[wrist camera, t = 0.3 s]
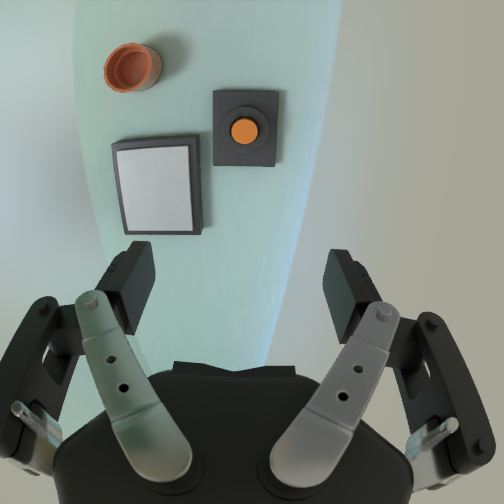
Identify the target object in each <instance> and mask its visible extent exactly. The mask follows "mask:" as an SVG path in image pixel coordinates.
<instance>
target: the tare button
mask: <svg viewBox="0 0 504 504" xmlns="http://www.w3.org/2000/svg"><path fill="white" fill-rule="evenodd" d="M231 132H232V137H233V138H234V140H235V141H236V142H238V143H240V144H249V143H251V142H253V141H254V140H255V139H256V137H257V134H258V130H257V126H256V124H255V123H254V122H253V121H252V120H251V119H248V118H242V119H239V120H237V121H236V122H235V123H234V125H233V127H232V131H231Z"/></svg>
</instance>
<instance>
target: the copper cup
mask: <svg viewBox="0 0 504 504" xmlns="http://www.w3.org/2000/svg"><path fill="white" fill-rule="evenodd" d="M161 70H162V61H161V59H160V56H159V54H158V53H157V52H156V51H154V50H153V49H151V48H149V47H146V46H143V45H141V44H136V43H129V44H124V45H122V46H120V47H118V48H117V49H115V50H114V51H113V52H112V53H111V54H110V56H109V57H108V58H107V61H106V63H105V66H104V78H105V81H106V83H107V85H108V86H109V87H110V88H111V89H113V90H114V91H117V92H121V93H127V92H138V91H143V90H146V89H147V88H149V87H151V86H152V85H153V84H154V83H155V82H156V81H157V80H158V78H159V75H160V73H161Z"/></svg>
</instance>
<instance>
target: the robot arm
mask: <svg viewBox="0 0 504 504" xmlns="http://www.w3.org/2000/svg"><path fill="white" fill-rule="evenodd" d="M154 282H155V266H154V259H153V253H152V246H151V243H150V242H149V241H133V242H132V244H131V245H130V247H129V248H128V250H127V251H122V252H121V253H120V254H118V255H117V256H116V257H115V258H114V259H113V261H112V262H111V264H110V266H109V267H108V269H107V271H106V272H105V273H104V275H103V277H102V278H101V280H100V281H99V283H98V285H97V286H96V288H95V289H94V290H91V291H87V292H85V293H83V294H82V295H81V296H79V297H78V298H77V300H76V301H75V304H71V305H64V306H59V304H58V302H57V300H56V299H55V298H54V297H51V296H46V297H42V298H40V299H38V300H37V301H35V302H34V303H33V304H32V306H31V307H30V309H29V310H28V312H27V314H26V315H25V317H24V319H23V320H22V322H21V324H20V326H19V327H18V329H17V331H16V333H15V334H14V336H13V338H12V340H11V342H10V344H9V346H8V348H7V349H6V351H5V353H4V356H3V357H2V360H1V362H0V457H1V458H2V459H4V460H5V461H7V462H8V463H10V464H12V465H13V466H15V467H17V468H19V469H22V470H24V471H25V472H28V473H29V474H31V475H34V476H39V475H43V476H45V477H47V478H50V479H52V480H54V482H55V486H56V489H57V494H58V499H59V504H408V503H409V500H410V497H411V494H412V493H414V492H417V491H420V490H423V489H428V490H437V489H439V488H441V487H443V486H446V485H448V484H450V483H452V482H454V481H456V480H458V479H460V478H462V477H464V476H466V475H467V474H469V473H471V472H473V471H475V470H477V469H478V468H480V467H482V466H484V465H485V464H487V463H488V462H490V461H491V459H492V458H493V456H494V454H495V449H496V443H495V438H494V435H493V433H492V429H491V426H490V423H489V420H488V417H487V414H486V412H485V409H484V406H483V404H482V401H481V398H480V396H479V394H478V391H477V388H476V386H475V384H474V382H473V379H472V377H471V374H470V372H469V370H468V368H467V365H466V363H465V361H464V359H463V357H462V355H461V353H460V351H459V349H458V347H457V345H456V343H455V341H454V339H453V337H452V335H451V333H450V331H449V329H448V328H447V325H446V323H445V322H444V320H443V319H442V318H441V317H440V316H438V315H436V314H435V313H432V312H423V313H421V314H420V315H419V317H418V319H417V320H412V319H407V318H403V317H400V314H399V312H398V311H397V309H396V308H395V307H394V306H392V305H391V304H389V303H386V302H383V301H382V299H381V297H380V295H379V293H378V291H377V289H376V287H375V285H374V284H373V283H372V280H371V278H370V277H369V274H368V273H367V271H366V269H365V267H364V266H362V265H361V264H360V263H359V262H358V261H353V259H352V257H351V255H350V254H349V252H348V250H339V249H331V250H330V252H329V255H328V259H327V264H326V268H325V272H324V276H323V291H324V294H325V297H326V300H327V303H328V307H329V310H330V313H331V317H332V320H333V323H334V327H335V330H336V333H337V337H338V340H339V343H340V344H345V346H344V348H343V349H342V351H341V353H340V354H339V356H338V358H337V359H336V361H335V363H334V364H333V366H332V367H331V369H330V370H329V372H328V374H327V375H326V377H325V378H324V380H323V381H322V383H321V384H320V383H318V382H316V381H314V380H313V379H310V378H308V377H305V376H301V375H297V374H296V372H295V366H262V367H257V368H252V369H247V370H242V371H229V370H225V369H221V368H217V367H214V366H210V365H207V364H203V363H191V362H180V361H174V364H173V369H172V370H166V371H162V372H159V373H156V374H153V375H151V376H149V377H146V375H145V373H144V371H143V370H142V368H141V366H140V364H139V362H138V360H137V358H136V356H135V354H134V352H133V350H132V349H131V347H130V344H129V342H128V340H127V338H126V336H125V334H126V335H135V332H136V329H137V326H138V324H139V321H140V318H141V316H142V313H143V310H144V308H145V305H146V302H147V300H148V297H149V295H150V292H151V290H152V287H153V285H154ZM47 346H48V347H49V350H48V352H47V355H46V357H45V359H44V362H43V364H42V358H43V354H44V352H45V350H46V348H47ZM80 355H86V358H87V361H88V364H89V367H90V370H91V373H92V376H93V379H94V381H95V384H96V387H97V389H98V392H99V395H100V397H101V399H102V402H103V404H104V407H105V410H104V411H103V412H101V413H100V414H99V415H98V416H96V417H95V418H94V419H92V420H91V421H90V422H88V423H87V424H86V425H84V426H83V427H82V428H80V429H79V430H78V431H76V432H75V433H74V434H72V435H71V436H69V437H68V438H67V439H66V440H64V441H63V439H62V430H61V427H60V425H59V424H58V419H59V416H60V413H61V409H62V406H63V402H64V399H65V396H66V393H67V390H68V387H69V384H70V381H71V378H72V375H73V372H74V369H75V366H76V364H77V361H78V358H79V356H80ZM425 362H426V363H427V366H428V369H429V371H430V378H429V375H428V372H427V370H426V367H425V365H424V363H425ZM385 367H391V368H393V371H394V374H395V377H396V381H397V384H398V387H399V391H400V394H401V398H402V401H403V405H404V409H405V413H406V417H407V420H408V425H409V429H410V433H411V436H410V437H409V438H408V440H407V443H406V452H405V455H404V454H403V453H402V452H401V451H399V450H398V449H397V448H396V447H394V446H393V445H392V444H391V443H390V442H388V441H387V440H386V439H385V438H383V437H382V436H381V435H380V434H379V433H377V432H376V431H375V430H374V429H373V428H371V427H370V426H369V425H368V424H367V423H365V422H364V421H363V420H362V419H361V418H362V416H363V413H364V412H365V410H366V407H367V405H368V403H369V401H370V399H371V397H372V395H373V393H374V391H375V388H376V386H377V384H378V382H379V379H380V377H381V375H382V372H383V370H384V368H385Z"/></svg>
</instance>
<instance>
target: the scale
mask: <svg viewBox="0 0 504 504" xmlns="http://www.w3.org/2000/svg"><path fill="white" fill-rule="evenodd" d="M111 146H112V155H113V164H114V172H115V179H116V186H117V193H118V199H119V205H120V211H121V217H122V222H123V227H124V232H125V235H201V232H202V229H203V226H202V207H201V186H200V157H199V135H190V136H170V137H156V138H144V139H134V140H125V141H117V142H115V143H113V144H111Z"/></svg>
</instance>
